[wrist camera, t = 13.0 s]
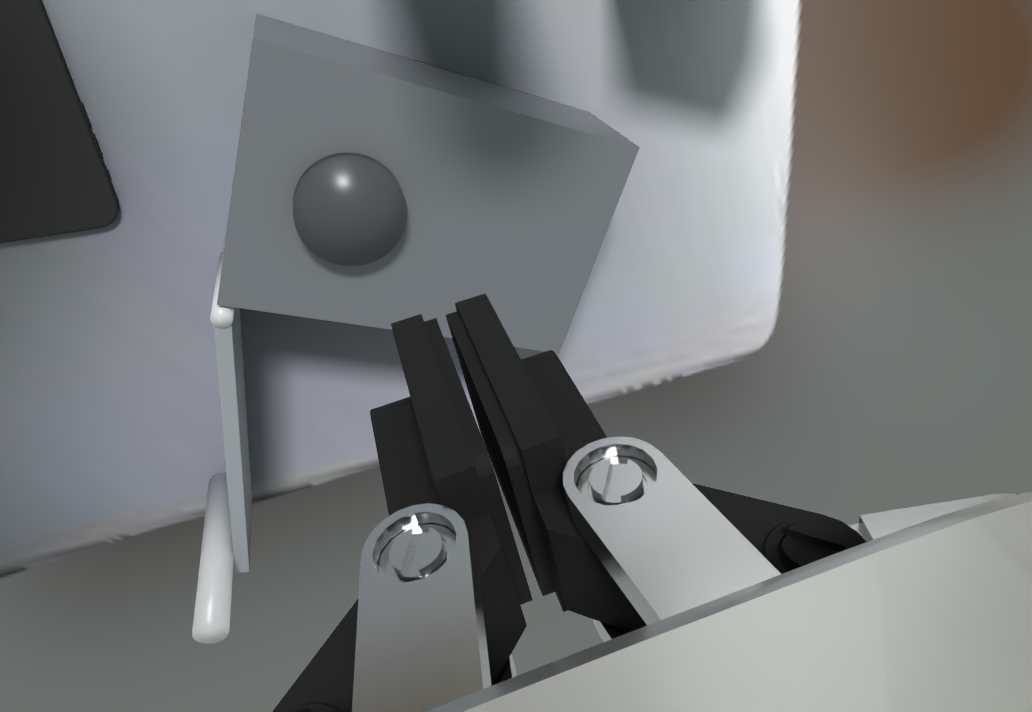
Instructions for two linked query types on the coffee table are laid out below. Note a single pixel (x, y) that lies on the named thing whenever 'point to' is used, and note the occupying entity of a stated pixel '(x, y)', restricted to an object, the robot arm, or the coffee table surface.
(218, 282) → the side door
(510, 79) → the coffee table surface
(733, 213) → the coffee table surface
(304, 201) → the cabinet body
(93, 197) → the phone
